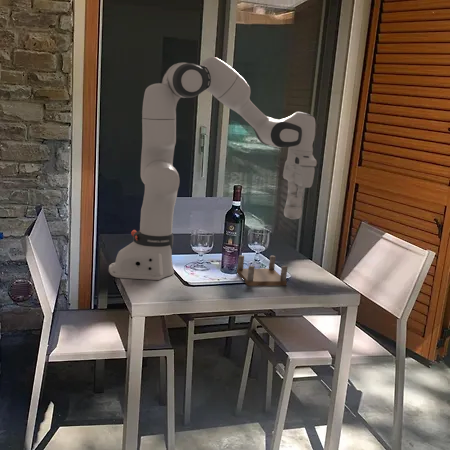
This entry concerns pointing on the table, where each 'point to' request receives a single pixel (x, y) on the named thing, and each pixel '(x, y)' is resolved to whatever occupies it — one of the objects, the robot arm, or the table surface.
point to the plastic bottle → (293, 199)
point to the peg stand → (262, 274)
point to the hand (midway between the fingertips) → (294, 195)
